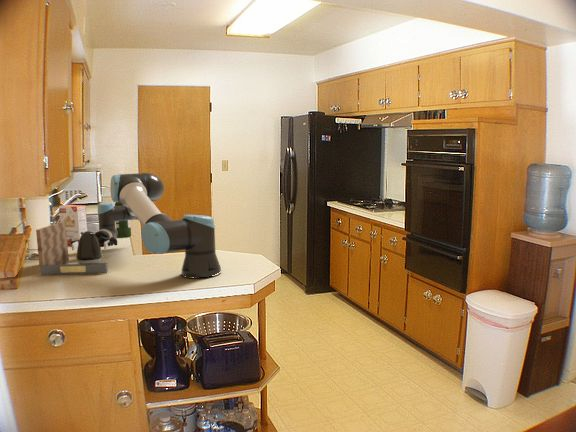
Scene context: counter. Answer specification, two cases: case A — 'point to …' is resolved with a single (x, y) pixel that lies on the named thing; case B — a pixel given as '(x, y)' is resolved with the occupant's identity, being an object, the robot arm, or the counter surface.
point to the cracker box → (73, 221)
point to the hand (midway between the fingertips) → (88, 246)
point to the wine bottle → (123, 226)
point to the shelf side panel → (52, 244)
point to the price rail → (73, 269)
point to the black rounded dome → (88, 249)
